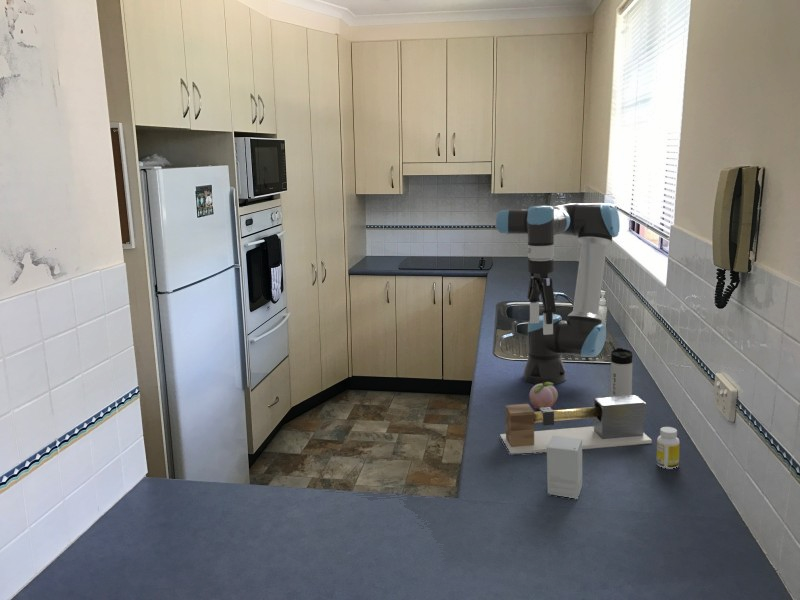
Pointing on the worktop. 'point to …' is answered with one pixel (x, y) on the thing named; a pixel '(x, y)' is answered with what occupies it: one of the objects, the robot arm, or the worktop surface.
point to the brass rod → (565, 414)
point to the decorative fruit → (543, 395)
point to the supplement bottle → (668, 448)
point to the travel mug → (621, 372)
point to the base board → (585, 433)
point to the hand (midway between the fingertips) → (541, 328)
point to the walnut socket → (519, 425)
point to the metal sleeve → (620, 417)
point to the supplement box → (564, 466)
